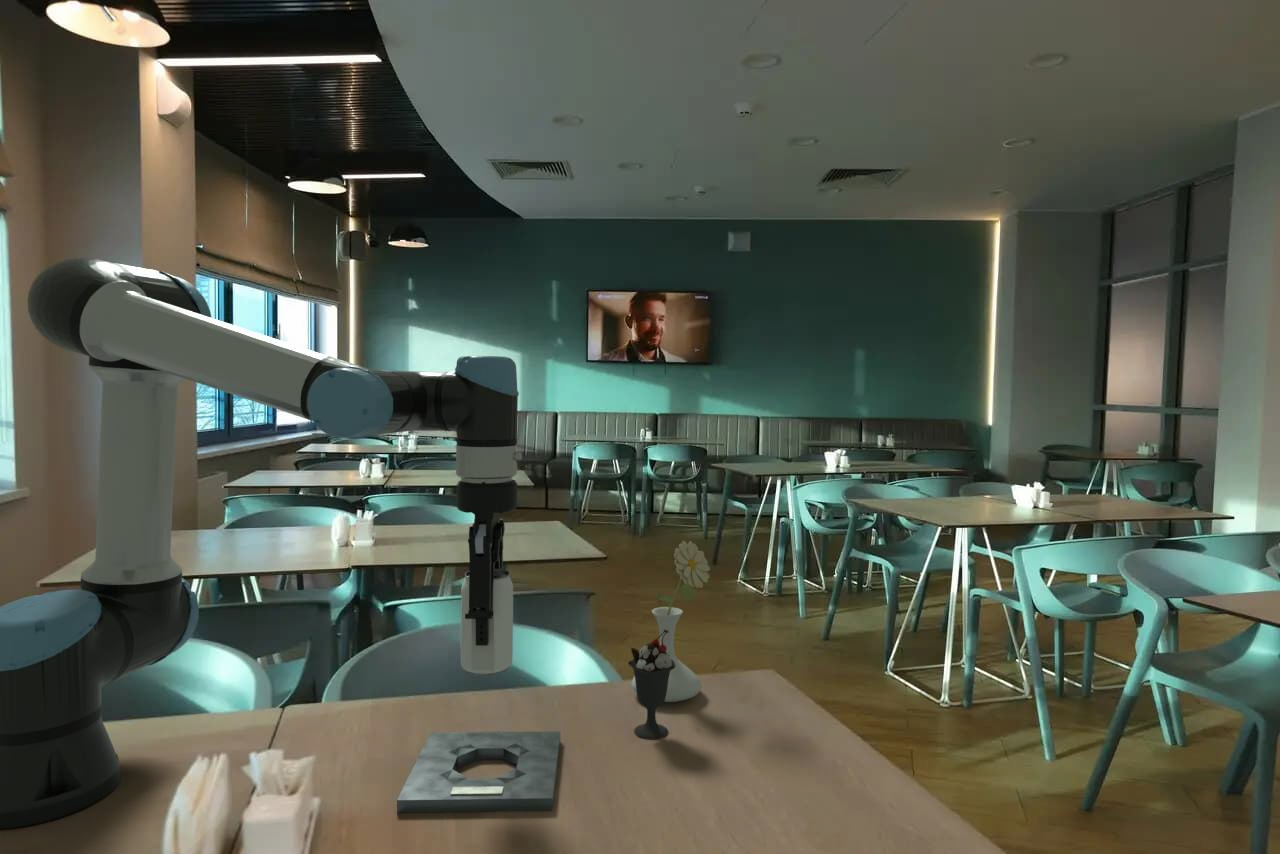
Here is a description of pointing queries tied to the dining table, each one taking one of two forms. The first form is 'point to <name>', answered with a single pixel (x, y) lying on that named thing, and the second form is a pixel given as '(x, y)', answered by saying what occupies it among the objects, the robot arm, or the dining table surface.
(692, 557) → the flower in vase
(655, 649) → the sundae
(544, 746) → the socket plate
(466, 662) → the can
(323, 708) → the dining table surface
